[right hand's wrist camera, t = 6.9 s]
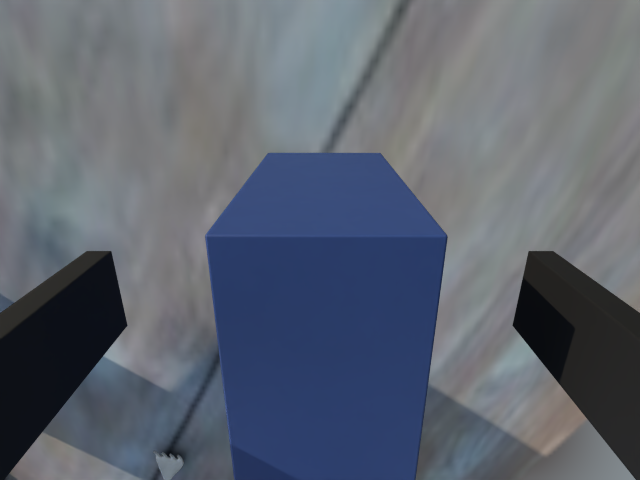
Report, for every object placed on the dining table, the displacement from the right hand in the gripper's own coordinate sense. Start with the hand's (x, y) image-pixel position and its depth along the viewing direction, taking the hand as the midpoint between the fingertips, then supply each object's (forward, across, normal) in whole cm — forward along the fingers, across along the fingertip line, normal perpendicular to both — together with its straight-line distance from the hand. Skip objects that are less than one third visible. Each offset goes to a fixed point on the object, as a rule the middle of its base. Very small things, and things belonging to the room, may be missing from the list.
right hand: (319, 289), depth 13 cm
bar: (+5, 0, -11) cm, 12 cm away
